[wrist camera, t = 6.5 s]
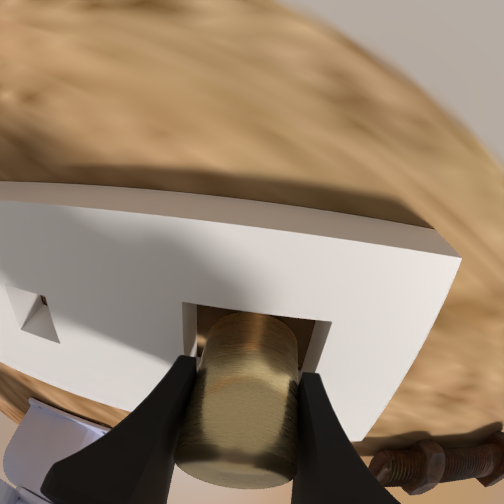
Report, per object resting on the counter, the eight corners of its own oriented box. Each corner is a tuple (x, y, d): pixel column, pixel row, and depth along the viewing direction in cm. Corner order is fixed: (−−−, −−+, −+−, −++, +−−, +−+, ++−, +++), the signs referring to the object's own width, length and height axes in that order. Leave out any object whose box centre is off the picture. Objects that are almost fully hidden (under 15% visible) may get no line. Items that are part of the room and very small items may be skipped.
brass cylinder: (207, 369, 15) (179, 478, 10) (207, 305, 13) (166, 432, 8) (289, 379, 15) (285, 492, 9) (305, 317, 13) (310, 450, 7)
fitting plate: (16, 339, 18) (-2, 363, 16) (-28, 180, 13) (-61, 197, 10) (356, 408, 17) (361, 443, 15) (435, 229, 12) (464, 260, 9)
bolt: (374, 425, 22) (494, 425, 21) (353, 472, 21) (473, 466, 21) (402, 461, 16) (526, 447, 15) (372, 513, 16) (501, 491, 15)
